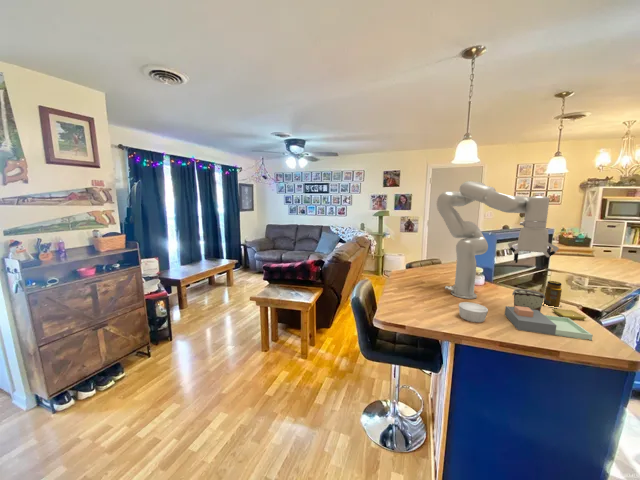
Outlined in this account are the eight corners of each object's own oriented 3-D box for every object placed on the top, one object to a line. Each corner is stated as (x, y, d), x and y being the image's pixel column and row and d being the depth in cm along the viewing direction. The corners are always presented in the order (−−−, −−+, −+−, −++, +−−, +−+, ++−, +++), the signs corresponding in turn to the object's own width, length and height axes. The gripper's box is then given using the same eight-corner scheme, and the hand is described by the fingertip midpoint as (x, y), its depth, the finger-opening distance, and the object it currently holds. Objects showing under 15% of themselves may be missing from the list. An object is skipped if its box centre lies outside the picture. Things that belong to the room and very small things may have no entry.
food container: (537, 311, 125) (539, 290, 124) (543, 316, 119) (545, 294, 118) (506, 307, 129) (508, 287, 128) (510, 311, 123) (513, 291, 122)
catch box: (555, 335, 101) (555, 329, 101) (536, 318, 116) (537, 313, 116) (591, 340, 97) (592, 334, 97) (568, 322, 112) (568, 317, 112)
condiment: (562, 306, 132) (565, 282, 131) (556, 309, 128) (560, 285, 126) (544, 301, 138) (547, 279, 137) (538, 304, 134) (541, 281, 132)
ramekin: (475, 325, 108) (476, 313, 107) (451, 315, 118) (452, 303, 118) (493, 321, 113) (494, 309, 112) (469, 311, 123) (470, 300, 122)
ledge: (517, 329, 105) (519, 320, 104) (504, 314, 120) (505, 306, 119) (555, 335, 101) (556, 325, 101) (536, 318, 116) (537, 310, 116)
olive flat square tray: (563, 320, 116) (564, 315, 116) (550, 312, 125) (551, 308, 124) (586, 322, 115) (587, 317, 114) (572, 314, 123) (572, 310, 123)
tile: (518, 315, 109) (518, 309, 109) (513, 311, 114) (514, 305, 113) (532, 317, 107) (533, 311, 107) (527, 312, 112) (528, 307, 112)
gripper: (509, 224, 116) (505, 262, 119) (562, 226, 106) (556, 268, 108) (510, 223, 122) (506, 260, 124) (560, 226, 112) (555, 265, 114)
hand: (529, 264), depth 116 cm, fingers open, 9 cm apart
